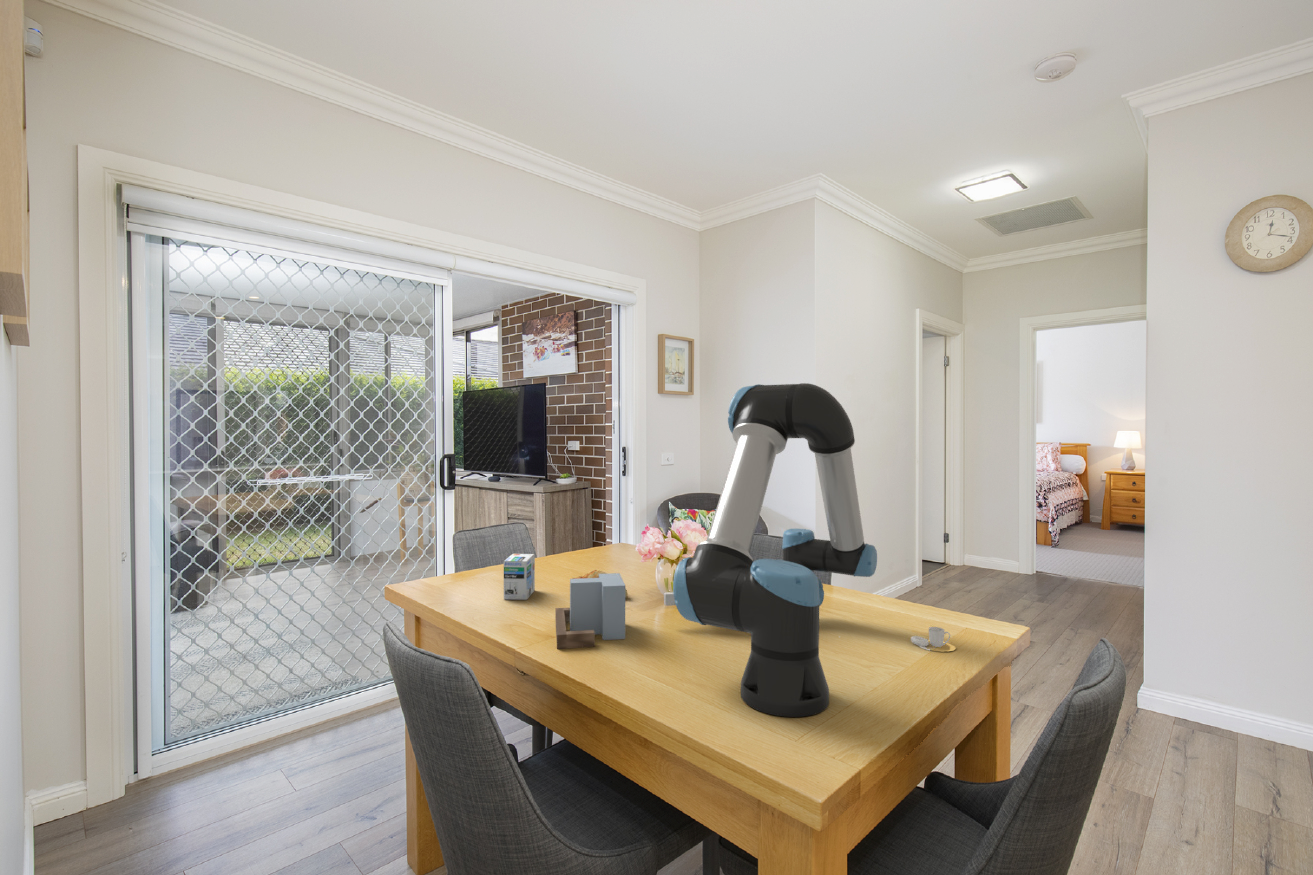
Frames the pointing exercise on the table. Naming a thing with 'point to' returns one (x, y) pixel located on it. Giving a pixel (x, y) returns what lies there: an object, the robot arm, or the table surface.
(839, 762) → the table surface
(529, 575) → the light bulb box
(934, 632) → the teacup and saucer
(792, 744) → the table surface
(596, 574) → the croissant
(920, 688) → the table surface
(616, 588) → the t block
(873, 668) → the table surface
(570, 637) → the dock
